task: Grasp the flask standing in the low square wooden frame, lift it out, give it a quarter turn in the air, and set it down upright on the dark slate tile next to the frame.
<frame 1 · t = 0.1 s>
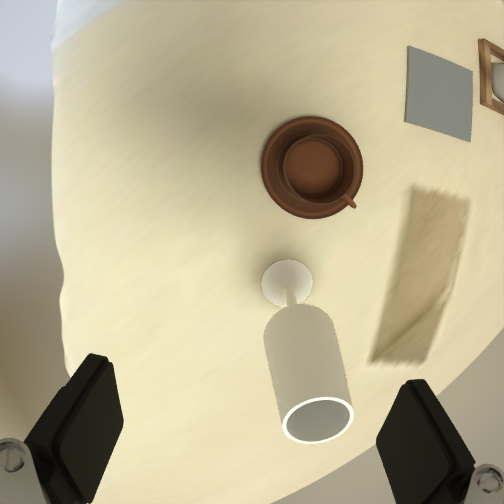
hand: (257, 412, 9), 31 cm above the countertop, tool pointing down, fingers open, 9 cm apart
flask: (502, 83, 32), on the countertop
slate tile: (440, 94, 34), on the countertop
square wooden frame: (503, 83, 32), on the countertop
cup and saucer: (310, 167, 37), on the countertop
champagne flute: (287, 283, 42), on the countertop
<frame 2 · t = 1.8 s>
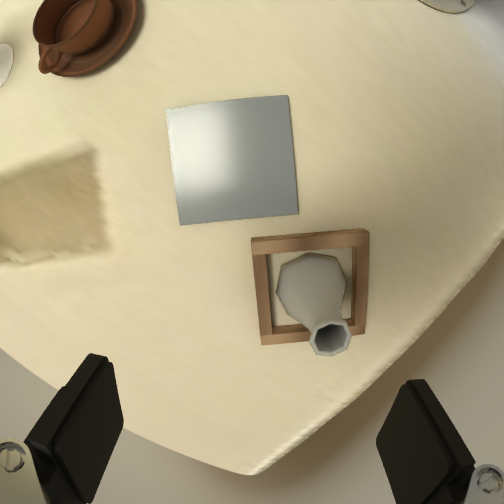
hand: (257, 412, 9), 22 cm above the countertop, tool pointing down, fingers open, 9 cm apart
flask: (310, 285, 32), on the countertop
slate tile: (232, 159, 28), on the countertop
square wooden frame: (311, 286, 32), on the countertop
cup and saucer: (92, 29, 24), on the countertop
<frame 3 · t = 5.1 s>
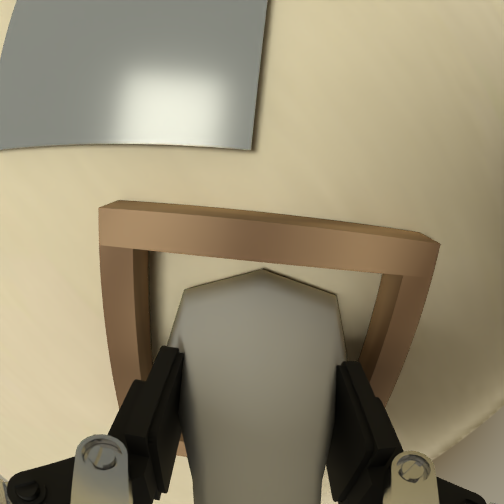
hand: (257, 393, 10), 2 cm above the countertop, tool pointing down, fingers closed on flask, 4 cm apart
flask: (257, 349, 12), on the countertop, touching gripper
slate tile: (118, 7, 8), on the countertop
square wooden frame: (257, 352, 12), on the countertop
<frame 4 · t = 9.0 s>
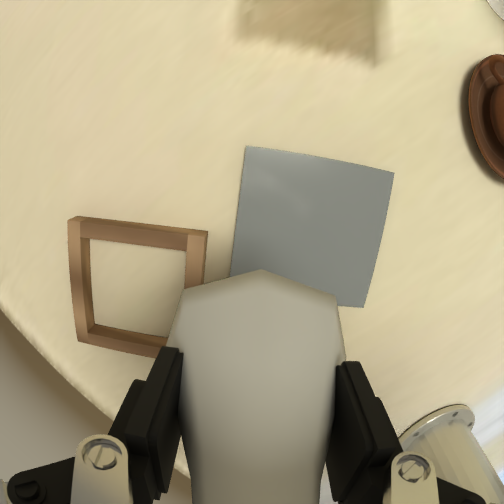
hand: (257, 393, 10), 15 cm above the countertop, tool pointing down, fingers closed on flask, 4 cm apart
flask: (256, 349, 12), point 12 cm above the countertop, touching gripper
slate tile: (310, 231, 24), on the countertop
square wooden frame: (136, 288, 25), on the countertop
cup and saucer: (502, 118, 21), on the countertop
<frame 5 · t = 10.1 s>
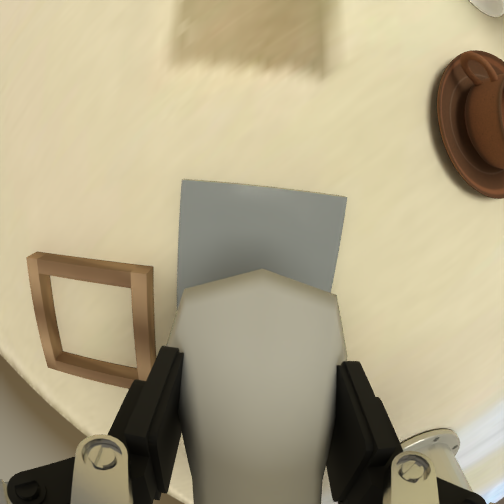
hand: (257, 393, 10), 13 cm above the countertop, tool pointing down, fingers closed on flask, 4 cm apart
flask: (257, 349, 12), point 11 cm above the countertop, touching gripper
slate tile: (256, 264, 23), on the countertop
square wooden frame: (94, 320, 24), on the countertop
cup and saucer: (482, 124, 20), on the countertop
when the fingers open (4 cm above the countertop, at t = 12.8 s): flask drops 1 cm, resting on slate tile.
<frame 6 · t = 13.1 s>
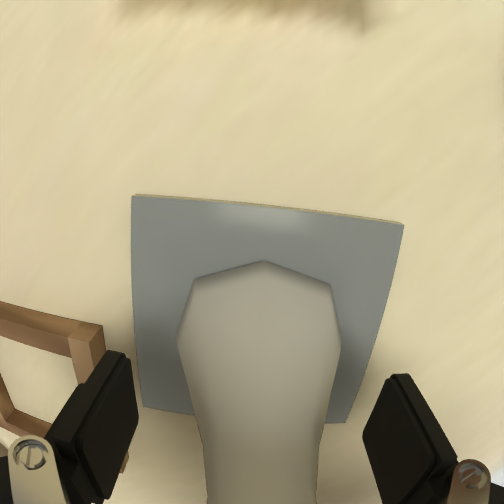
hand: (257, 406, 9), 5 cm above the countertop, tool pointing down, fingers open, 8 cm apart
flask: (259, 335, 14), resting on slate tile
slate tile: (256, 328, 14), on the countertop
square wooden frame: (41, 382, 16), on the countertop
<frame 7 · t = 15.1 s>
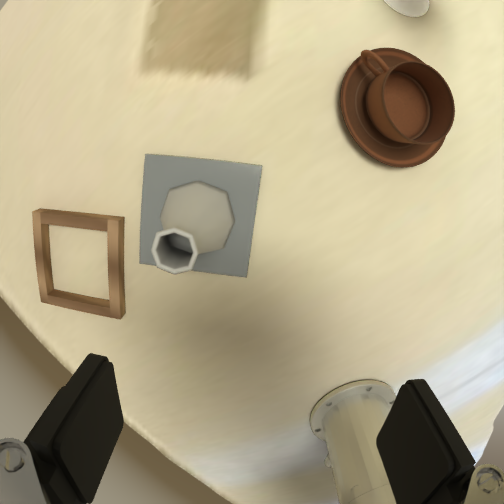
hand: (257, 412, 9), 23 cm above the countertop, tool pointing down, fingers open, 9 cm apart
flask: (197, 217, 30), resting on slate tile
slate tile: (197, 215, 31), on the countertop
square wooden frame: (80, 260, 32), on the countertop
cup and saucer: (391, 107, 27), on the countertop
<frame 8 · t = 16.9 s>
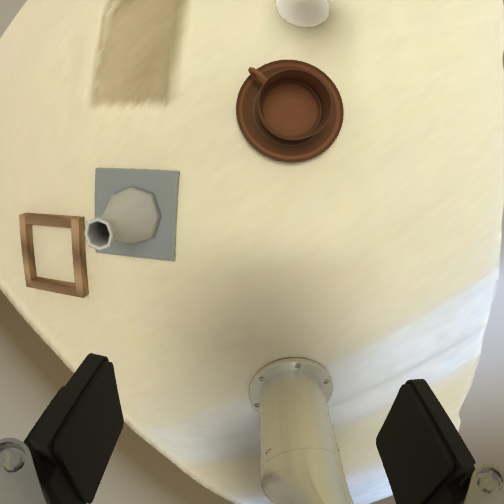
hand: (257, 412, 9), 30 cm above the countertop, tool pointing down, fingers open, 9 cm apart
flask: (134, 214, 38), resting on slate tile
slate tile: (134, 213, 38), on the countertop
square wooden frame: (54, 252, 40), on the countertop
cup and saucer: (288, 111, 35), on the countertop
champagne flute: (302, 6, 30), on the countertop
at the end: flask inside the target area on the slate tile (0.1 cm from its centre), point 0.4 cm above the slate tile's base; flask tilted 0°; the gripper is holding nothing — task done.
